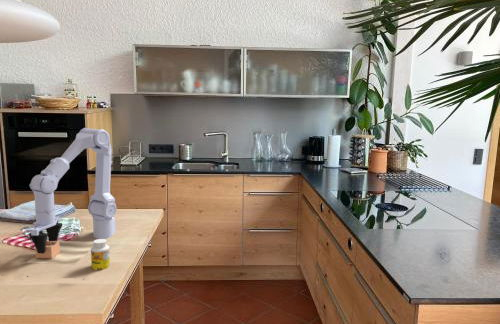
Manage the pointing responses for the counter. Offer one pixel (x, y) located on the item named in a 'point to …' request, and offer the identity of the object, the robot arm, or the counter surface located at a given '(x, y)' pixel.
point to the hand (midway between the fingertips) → (47, 248)
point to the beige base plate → (67, 253)
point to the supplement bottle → (100, 255)
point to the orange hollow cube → (49, 250)
